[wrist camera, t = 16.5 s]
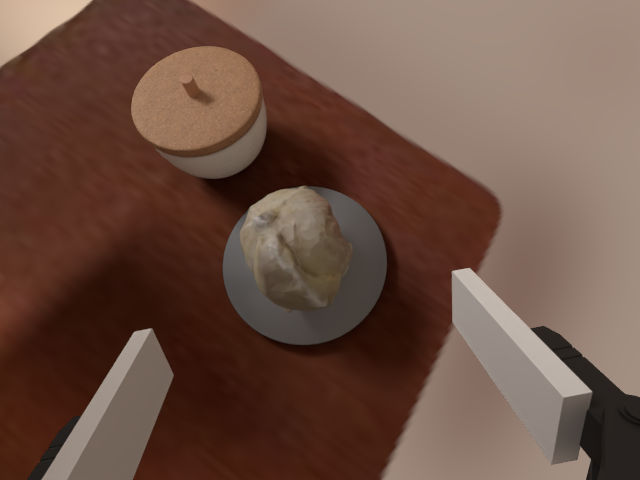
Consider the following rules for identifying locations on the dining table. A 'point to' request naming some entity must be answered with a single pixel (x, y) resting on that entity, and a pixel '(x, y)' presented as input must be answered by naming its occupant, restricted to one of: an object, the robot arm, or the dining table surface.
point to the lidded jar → (202, 111)
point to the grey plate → (348, 304)
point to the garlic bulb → (295, 249)
